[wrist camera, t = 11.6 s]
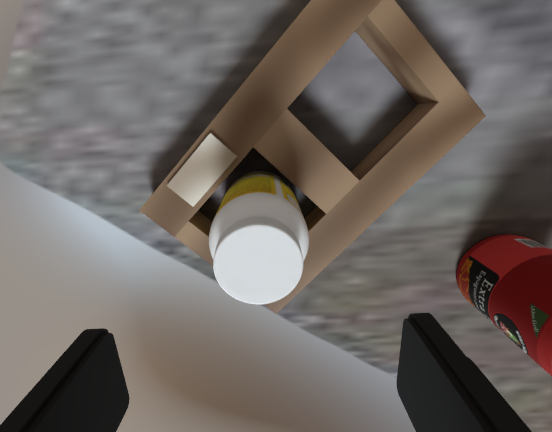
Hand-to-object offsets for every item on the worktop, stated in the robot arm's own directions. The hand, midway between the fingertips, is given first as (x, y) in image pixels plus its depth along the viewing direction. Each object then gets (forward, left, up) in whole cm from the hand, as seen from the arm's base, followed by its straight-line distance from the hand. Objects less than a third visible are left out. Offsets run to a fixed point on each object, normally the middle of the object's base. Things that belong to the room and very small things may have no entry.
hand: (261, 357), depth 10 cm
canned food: (-21, -10, -17) cm, 29 cm away
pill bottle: (0, 0, -17) cm, 17 cm away
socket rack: (0, -5, -17) cm, 18 cm away
